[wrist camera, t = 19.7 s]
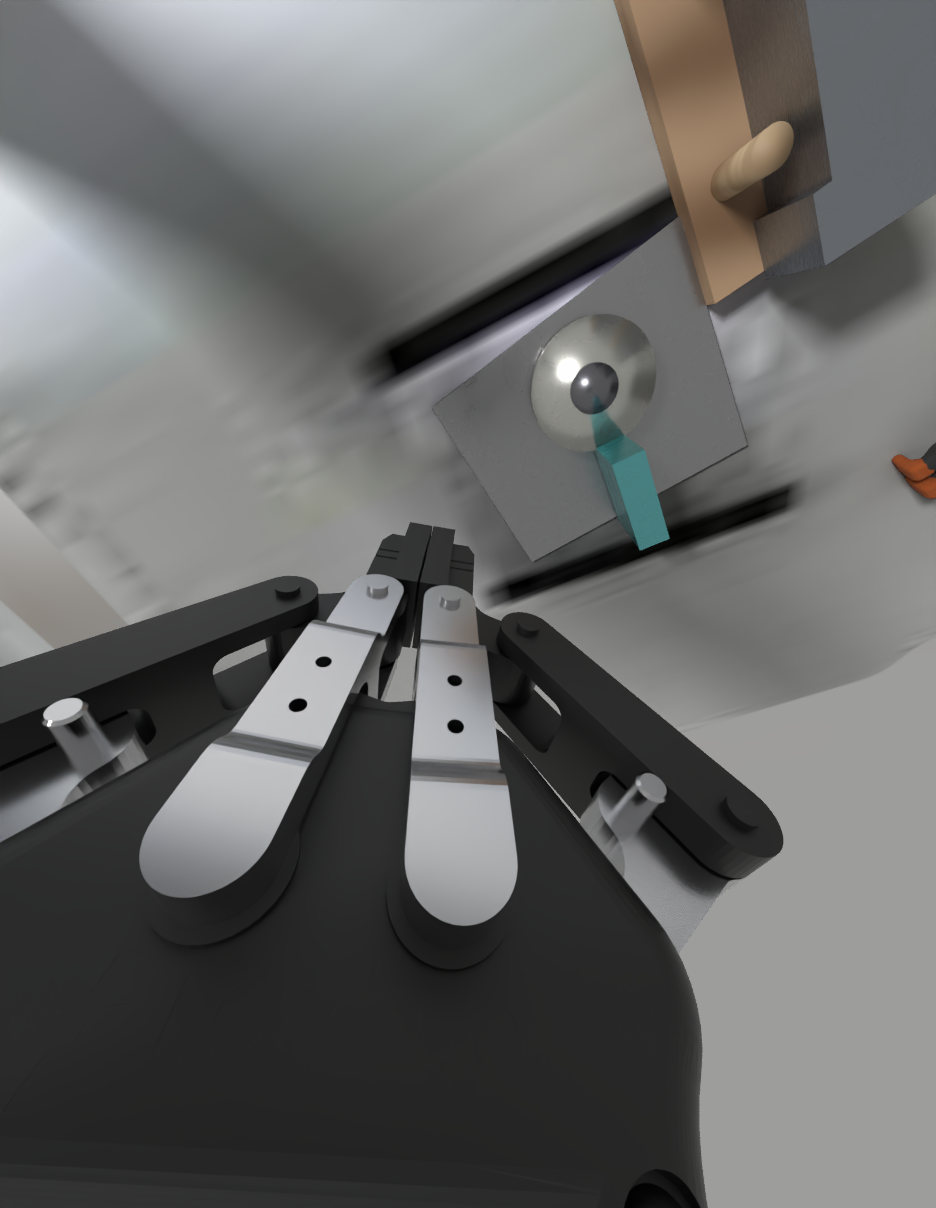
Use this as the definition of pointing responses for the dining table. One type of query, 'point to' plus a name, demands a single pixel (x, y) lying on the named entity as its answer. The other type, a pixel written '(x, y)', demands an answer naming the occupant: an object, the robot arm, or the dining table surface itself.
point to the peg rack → (704, 133)
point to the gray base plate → (666, 431)
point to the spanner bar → (838, 118)
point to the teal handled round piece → (603, 410)
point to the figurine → (920, 472)
